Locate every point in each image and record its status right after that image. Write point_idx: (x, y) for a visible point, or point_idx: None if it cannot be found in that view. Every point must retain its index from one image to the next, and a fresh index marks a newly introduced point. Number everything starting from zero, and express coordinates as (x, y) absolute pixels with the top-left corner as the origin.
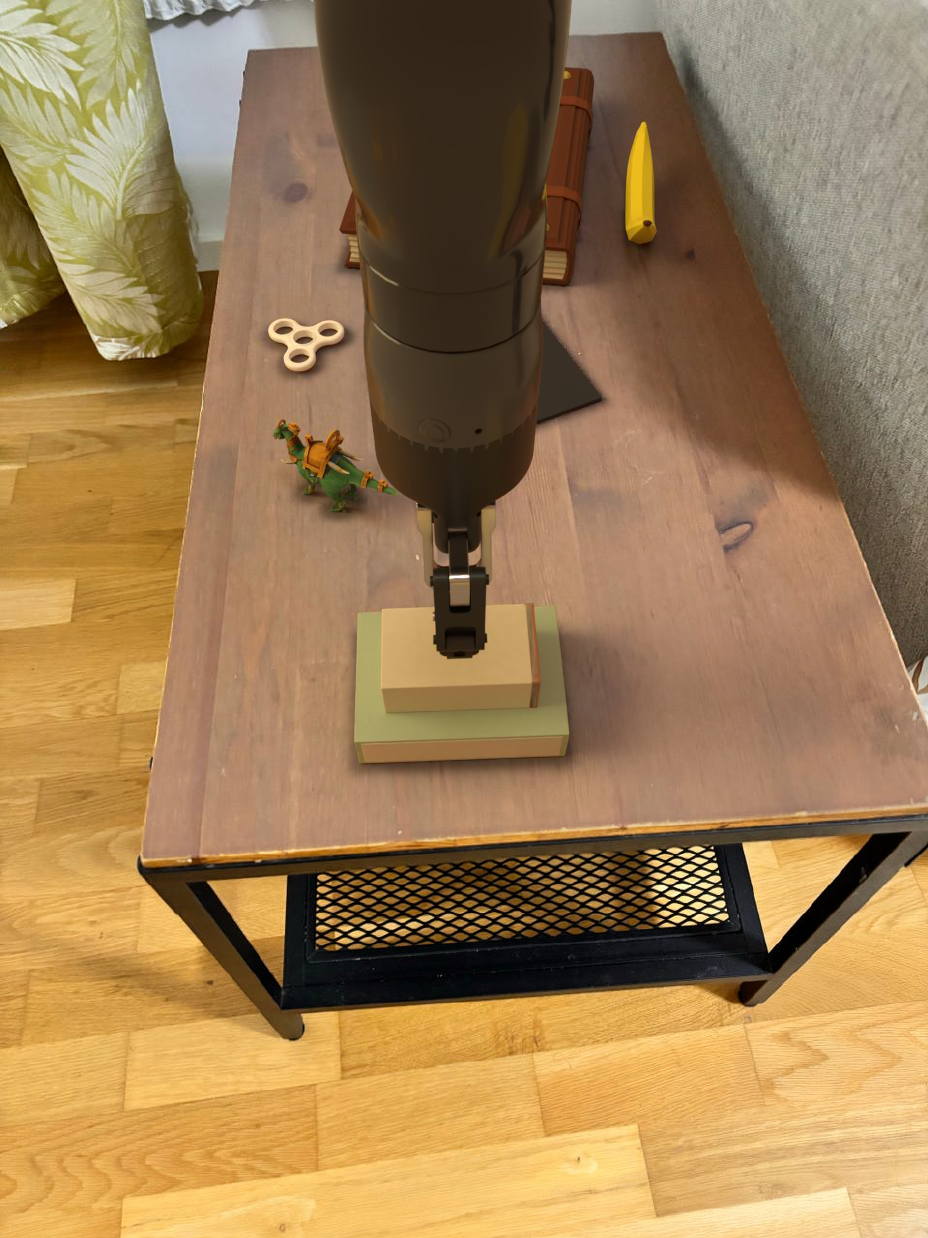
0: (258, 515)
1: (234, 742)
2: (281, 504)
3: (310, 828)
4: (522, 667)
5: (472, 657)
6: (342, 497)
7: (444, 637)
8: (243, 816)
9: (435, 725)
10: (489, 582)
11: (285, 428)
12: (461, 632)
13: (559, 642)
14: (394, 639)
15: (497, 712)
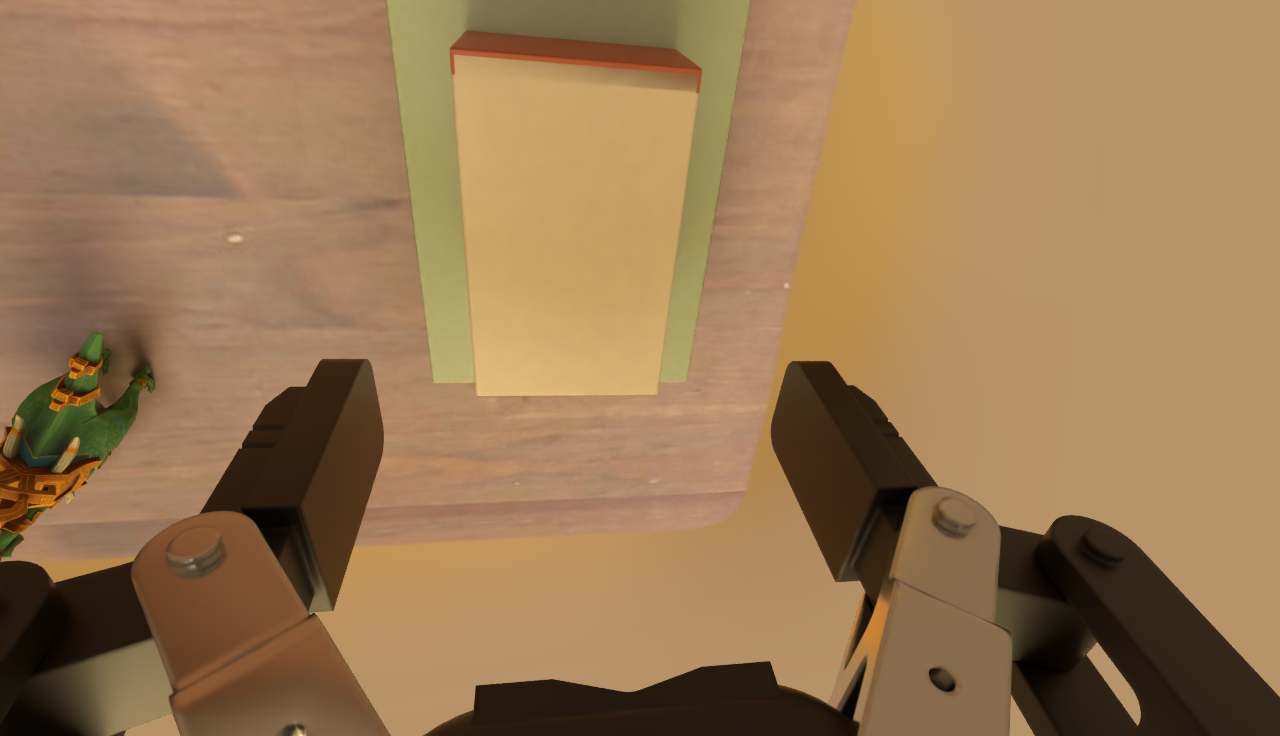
0: (203, 486)
1: (616, 475)
2: (166, 459)
3: (750, 390)
4: (653, 112)
5: (865, 394)
6: (124, 393)
7: (1116, 701)
8: (716, 457)
9: (679, 262)
10: (1004, 630)
11: None
12: (1089, 638)
13: None
14: (552, 375)
15: None
